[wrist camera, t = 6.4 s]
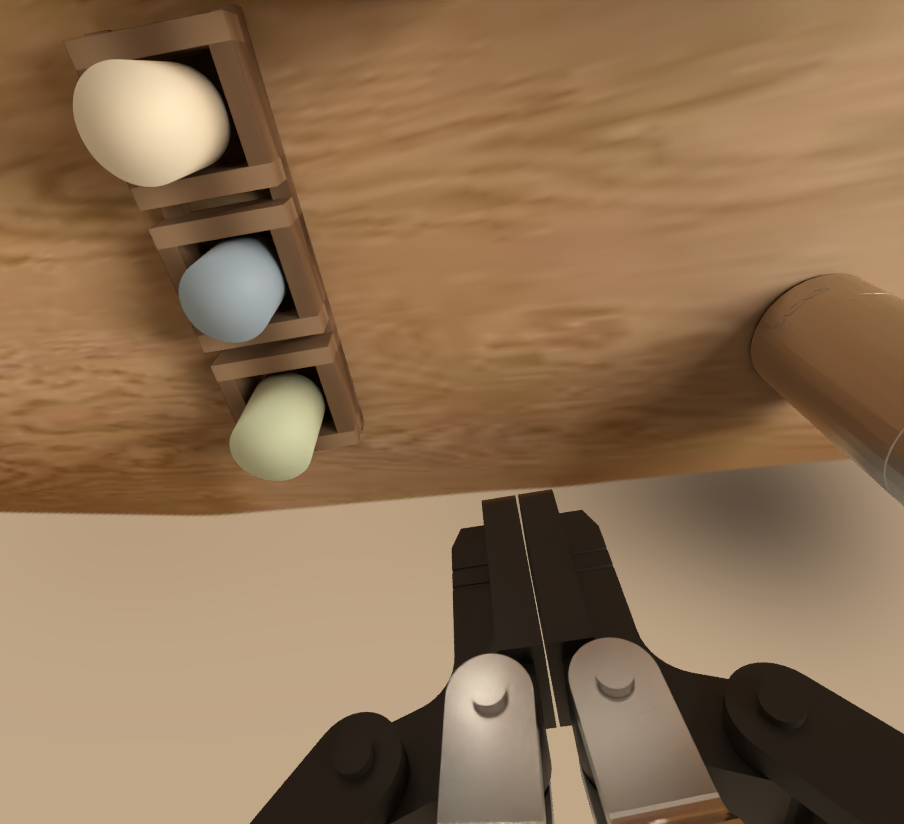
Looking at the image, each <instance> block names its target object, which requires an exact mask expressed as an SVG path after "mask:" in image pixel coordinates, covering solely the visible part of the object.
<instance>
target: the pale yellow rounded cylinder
mask: <svg viewBox="0 0 904 824" xmlns="http://www.w3.org/2000/svg"><path fill="white" fill-rule="evenodd" d="M325 409H326V403H325V398H324V395H323V393H322V392H321V390H320V388H319V387H318V386H317V385H316V384H315V383H314V382H313V381H311V380H310V379H308V378H307V377H305V376H302V375H300V374H297V373H292V372H278V373H274V374H271V375H268V376H267V377H265V378H264V379H262V380H261V381H260V382H259V383H258V385H257V387H256V388H255V390H254V392H253V394H252V396H251V398H250V400H249V402H248V403H247V405H246V407H245V409H244V411H243V413H242V415H241V417H240V419H239V420H238V422H237V424H236V426H235V428H234V430H233V432H232V434H231V436H230V441H229V446H230V451H231V454H232V457H233V458H234V460H235V462H236V463H237V464H238V465H239V466H240V467H241V468H242V469H243V470H245V471H246V472H247V473H249V474H251V475H253V476H255V477H257V478H260V479H264V480H269V481H284V480H289V479H292V478H295V477H297V476H298V475H300V474H301V473H303V472H304V471H305V470H306V469H307V467H308V466H309V464H310V461H311V458H312V455H313V452H314V448H315V445H316V441H317V438H318V434H319V431H320V427H321V424H322V420H323V417H324V413H325Z"/></svg>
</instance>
